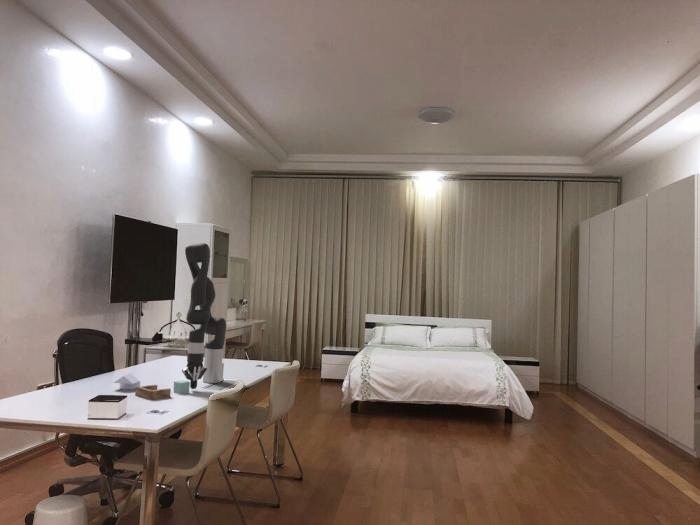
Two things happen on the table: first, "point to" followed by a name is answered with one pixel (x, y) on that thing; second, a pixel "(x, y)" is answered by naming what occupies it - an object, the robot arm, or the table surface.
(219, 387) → the table surface
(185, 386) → the teal block
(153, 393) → the walnut bay
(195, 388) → the robot arm
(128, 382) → the white toy house
